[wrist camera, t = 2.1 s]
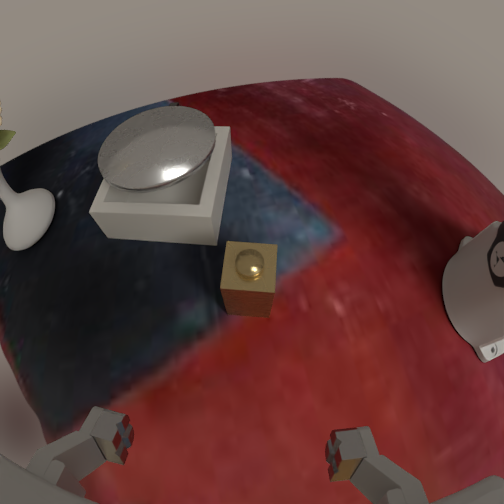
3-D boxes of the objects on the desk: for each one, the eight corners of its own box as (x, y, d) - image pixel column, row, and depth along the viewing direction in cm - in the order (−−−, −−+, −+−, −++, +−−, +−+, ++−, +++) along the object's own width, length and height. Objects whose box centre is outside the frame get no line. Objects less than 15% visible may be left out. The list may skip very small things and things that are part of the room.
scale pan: (228, 128, 39) (226, 96, 34) (208, 221, 31) (201, 188, 26) (138, 130, 39) (128, 102, 34) (98, 216, 32) (79, 187, 27)
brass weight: (271, 279, 33) (278, 240, 25) (269, 317, 31) (275, 289, 23) (231, 276, 33) (226, 236, 25) (227, 314, 31) (219, 284, 23)
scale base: (232, 155, 42) (230, 124, 37) (216, 245, 35) (211, 217, 30) (140, 155, 43) (130, 127, 37) (107, 237, 36) (88, 212, 30)
